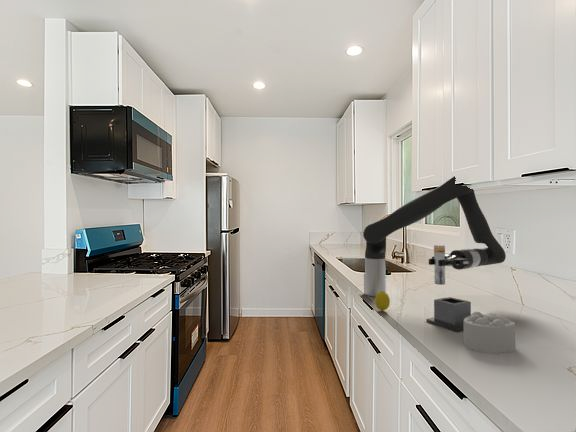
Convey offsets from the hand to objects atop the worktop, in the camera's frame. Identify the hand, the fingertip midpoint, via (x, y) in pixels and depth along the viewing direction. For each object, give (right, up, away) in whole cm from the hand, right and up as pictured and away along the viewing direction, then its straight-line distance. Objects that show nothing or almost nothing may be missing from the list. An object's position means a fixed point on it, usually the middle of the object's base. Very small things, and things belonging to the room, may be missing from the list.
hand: (434, 262), depth 122 cm
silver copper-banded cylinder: (+3, -8, +1) cm, 8 cm away
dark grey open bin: (+3, -20, -8) cm, 22 cm away
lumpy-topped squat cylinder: (+3, -20, -27) cm, 34 cm away
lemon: (-17, -20, +8) cm, 27 cm away
